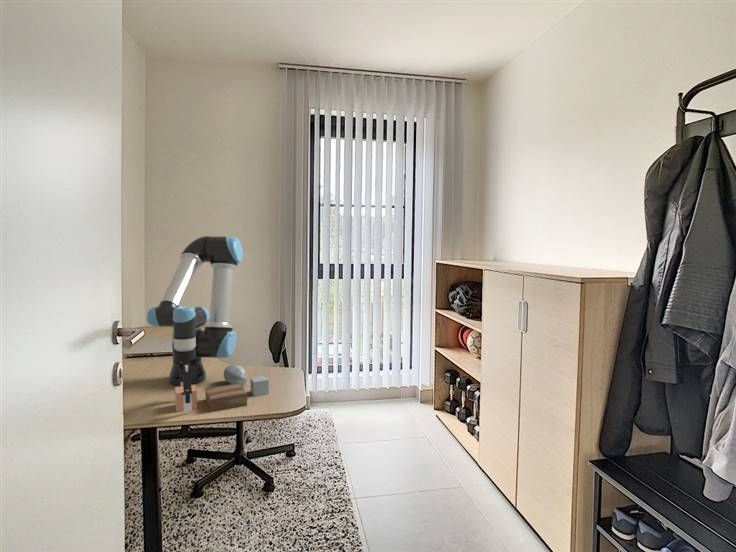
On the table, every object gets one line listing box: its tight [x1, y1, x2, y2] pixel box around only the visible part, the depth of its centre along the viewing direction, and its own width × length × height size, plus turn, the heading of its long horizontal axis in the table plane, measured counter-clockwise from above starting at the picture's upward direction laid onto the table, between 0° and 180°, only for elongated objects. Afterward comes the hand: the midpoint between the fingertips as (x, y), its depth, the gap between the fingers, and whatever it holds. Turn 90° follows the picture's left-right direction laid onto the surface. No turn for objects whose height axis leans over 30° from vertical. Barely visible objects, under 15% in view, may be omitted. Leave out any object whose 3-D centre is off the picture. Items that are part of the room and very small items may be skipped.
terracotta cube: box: [174, 384, 198, 413], centre depth 160 cm, size 7×7×7 cm
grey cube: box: [250, 375, 270, 397], centre depth 175 cm, size 6×6×6 cm
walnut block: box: [204, 383, 248, 412], centre depth 164 cm, size 13×13×5 cm
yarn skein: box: [223, 363, 248, 387], centre depth 184 cm, size 14×10×10 cm
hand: (186, 404), depth 160 cm, fingers open, 13 cm apart
